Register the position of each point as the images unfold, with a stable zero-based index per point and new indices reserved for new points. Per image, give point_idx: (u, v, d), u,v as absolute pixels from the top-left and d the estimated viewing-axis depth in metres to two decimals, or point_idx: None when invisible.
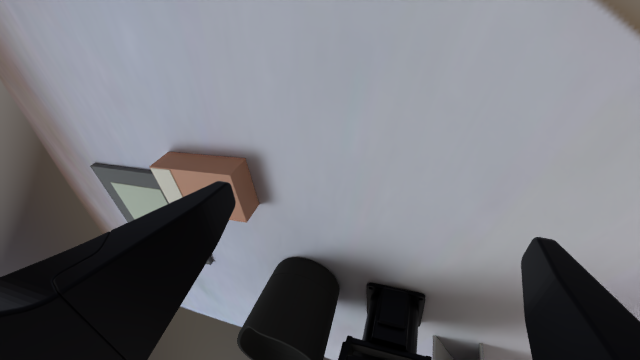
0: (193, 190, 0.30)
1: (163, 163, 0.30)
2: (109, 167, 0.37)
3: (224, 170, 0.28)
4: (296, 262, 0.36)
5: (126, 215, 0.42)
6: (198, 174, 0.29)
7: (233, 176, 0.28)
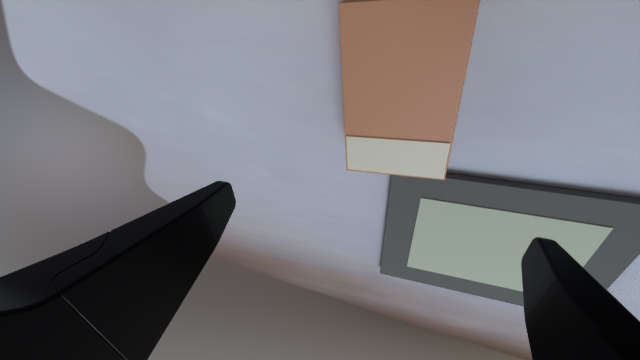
0: (388, 109, 0.16)
1: None
2: None
3: None
4: None
5: (478, 290, 0.26)
6: (346, 80, 0.16)
7: (349, 1, 0.14)
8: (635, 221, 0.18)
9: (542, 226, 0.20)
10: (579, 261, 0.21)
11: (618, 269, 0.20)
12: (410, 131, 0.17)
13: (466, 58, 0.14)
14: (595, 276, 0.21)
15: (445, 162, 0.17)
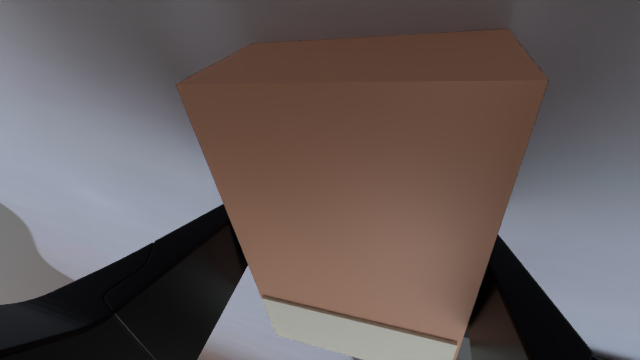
0: (328, 275, 0.08)
1: None
2: None
3: None
4: None
5: None
6: (238, 221, 0.08)
7: (206, 77, 0.06)
8: None
9: None
10: None
11: None
12: (376, 312, 0.08)
13: (495, 221, 0.05)
14: None
15: None
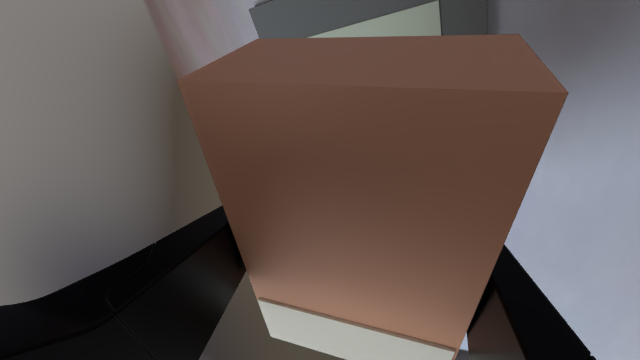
0: (327, 279, 0.08)
1: None
2: None
3: None
4: None
5: None
6: (236, 223, 0.08)
7: (209, 74, 0.06)
8: None
9: None
10: None
11: None
12: (374, 316, 0.08)
13: (502, 232, 0.05)
14: None
15: None
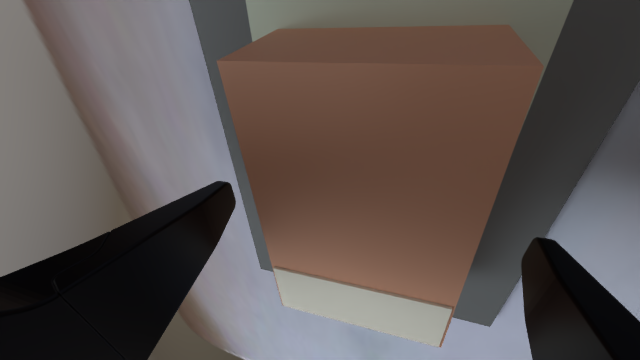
0: (338, 244, 0.09)
1: None
2: None
3: None
4: None
5: None
6: (259, 193, 0.08)
7: (243, 55, 0.07)
8: (468, 303, 0.14)
9: None
10: None
11: None
12: (380, 279, 0.09)
13: (493, 190, 0.06)
14: None
15: (442, 329, 0.10)
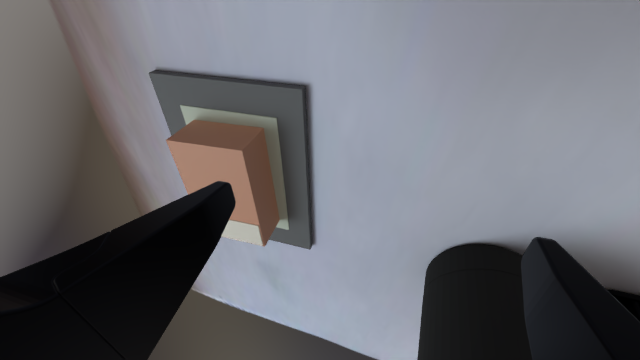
0: None
1: None
2: (185, 75, 0.21)
3: None
4: (491, 252, 0.22)
5: None
6: (185, 181, 0.23)
7: (174, 138, 0.21)
8: (296, 236, 0.29)
9: (277, 200, 0.26)
10: None
11: None
12: (233, 215, 0.24)
13: (248, 181, 0.21)
14: None
15: (259, 236, 0.24)
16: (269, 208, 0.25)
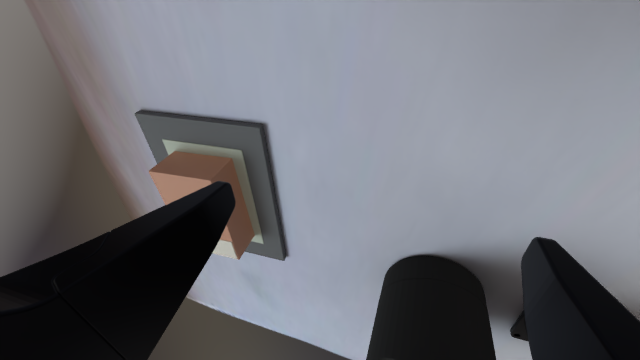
0: None
1: None
2: (164, 115, 0.25)
3: None
4: (433, 263, 0.25)
5: None
6: None
7: (156, 169, 0.25)
8: (271, 249, 0.32)
9: (250, 218, 0.30)
10: None
11: None
12: None
13: None
14: None
15: (233, 251, 0.28)
16: (242, 226, 0.28)
